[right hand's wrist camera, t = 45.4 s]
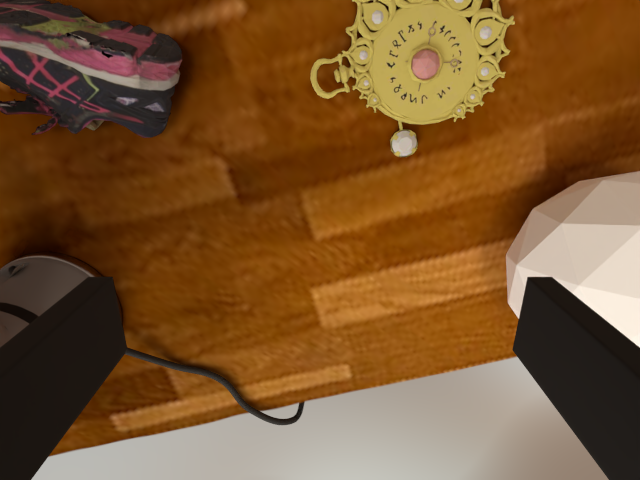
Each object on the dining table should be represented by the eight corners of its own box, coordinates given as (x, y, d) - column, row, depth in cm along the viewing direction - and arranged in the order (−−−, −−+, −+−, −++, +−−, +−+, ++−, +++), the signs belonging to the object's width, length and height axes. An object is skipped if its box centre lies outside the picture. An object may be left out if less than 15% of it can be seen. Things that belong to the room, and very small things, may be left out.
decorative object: (529, 126, 40) (337, 180, 41) (517, 124, 42) (335, 175, 43) (509, -125, 33) (276, -53, 33) (495, -110, 35) (278, -44, 36)
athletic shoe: (-121, -30, 31) (-79, 124, 36) (88, 2, 25) (103, 181, 30) (25, -3, 41) (42, 115, 46) (200, 24, 35) (198, 157, 40)
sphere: (571, 229, 53) (743, 348, 40) (452, 304, 49) (603, 462, 36) (635, 101, 38) (934, 225, 26) (473, 193, 34) (736, 392, 22)
